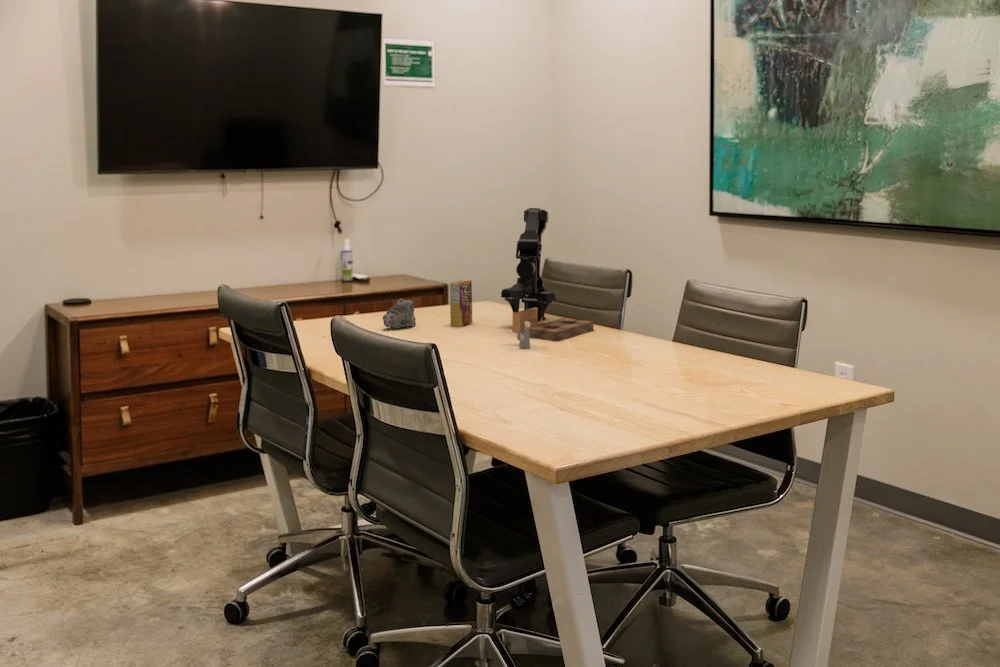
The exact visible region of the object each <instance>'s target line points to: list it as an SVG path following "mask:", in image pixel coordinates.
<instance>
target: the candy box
mask: <svg viewBox="0 0 1000 667" xmlns="http://www.w3.org/2000/svg"><path fill="white" fill-rule="evenodd" d="M472 281H473V280H470V279H468V280H466V279H461V280H458V281H454V282H450V283H449V303H450V305H449V306H450V307H449V308H450V310H449V311H450V313H449V314H450V327H453V328H454V327H456V328H462V327H464V326H468V325H471V324H473V290H472V289H473V287H472V286H473V285H472V283H473V282H472Z"/></svg>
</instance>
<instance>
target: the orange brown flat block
mask: <svg viewBox="0 0 1000 667" xmlns="http://www.w3.org/2000/svg"><path fill="white" fill-rule="evenodd" d="M537 315H538V308H531V309H527V310H524V309H523V310H519V311H518V312H514V313H513V312H512V333H517V329H520V332H521V333H524V329H525V328H526V326H525V325H526V322H528V321H530V322H529V327H531V326H535V325H539V324H543V319H542V318H541V321H539V322H538V318H537Z"/></svg>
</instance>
